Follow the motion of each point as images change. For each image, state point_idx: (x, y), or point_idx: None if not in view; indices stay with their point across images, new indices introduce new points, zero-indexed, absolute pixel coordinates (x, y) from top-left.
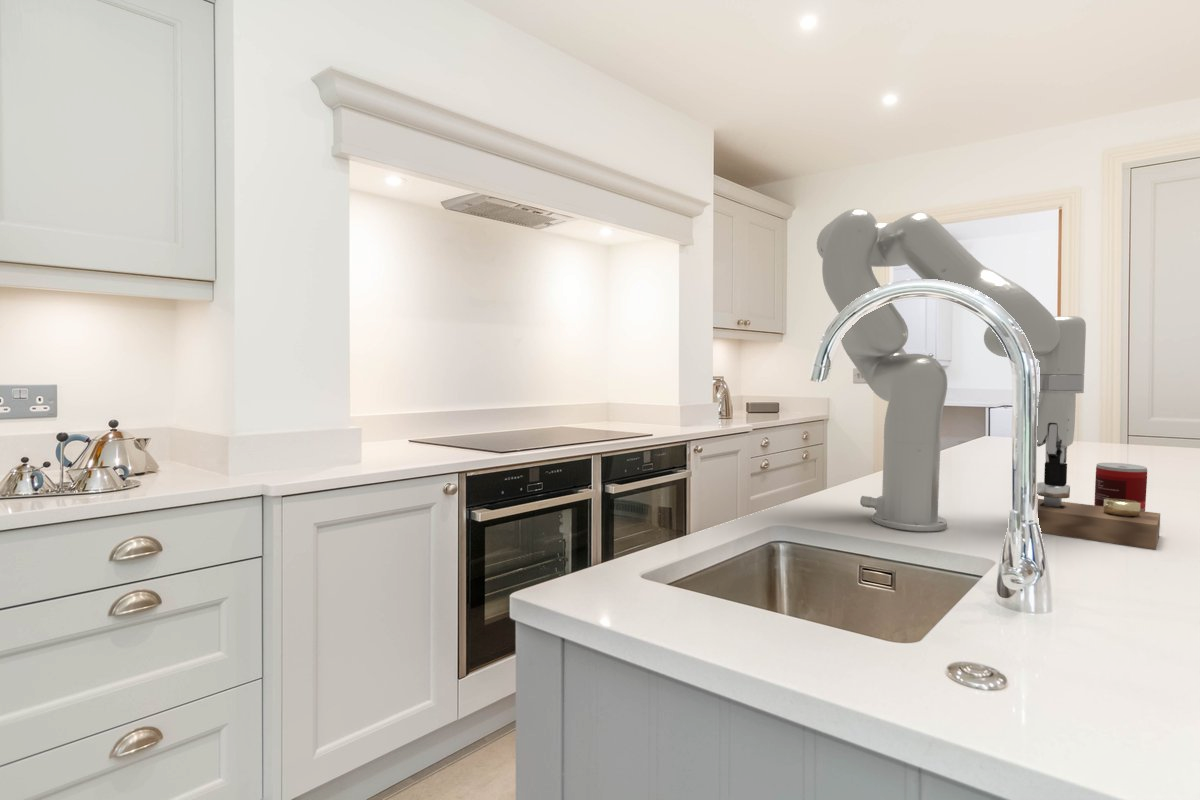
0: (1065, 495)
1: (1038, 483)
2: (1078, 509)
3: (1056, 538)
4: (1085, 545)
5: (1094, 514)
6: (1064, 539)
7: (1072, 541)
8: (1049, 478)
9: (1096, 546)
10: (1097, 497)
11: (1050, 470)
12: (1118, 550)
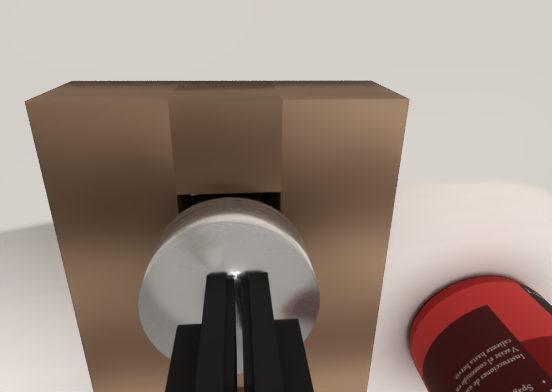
0: None
1: (213, 238)
2: None
3: (37, 238)
4: (13, 316)
5: (152, 377)
6: (46, 259)
7: (37, 281)
8: (179, 330)
9: (31, 337)
10: (500, 347)
11: (168, 384)
12: (34, 380)
